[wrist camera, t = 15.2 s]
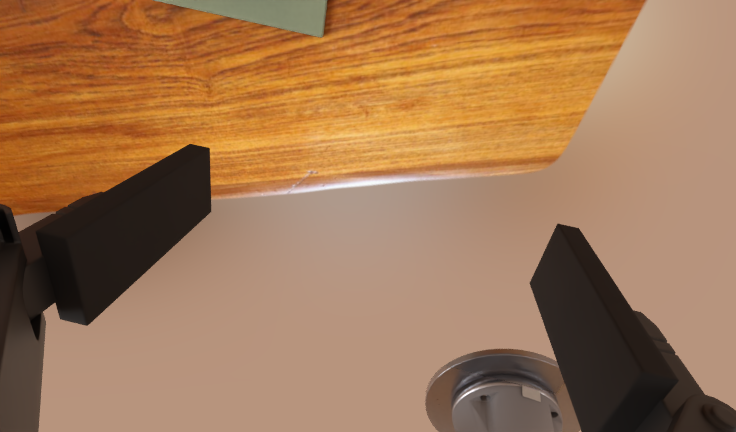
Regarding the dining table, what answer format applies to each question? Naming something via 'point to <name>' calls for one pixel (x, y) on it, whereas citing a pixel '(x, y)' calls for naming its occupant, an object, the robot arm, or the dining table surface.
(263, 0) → the mat
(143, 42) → the dining table surface
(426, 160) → the dining table surface
